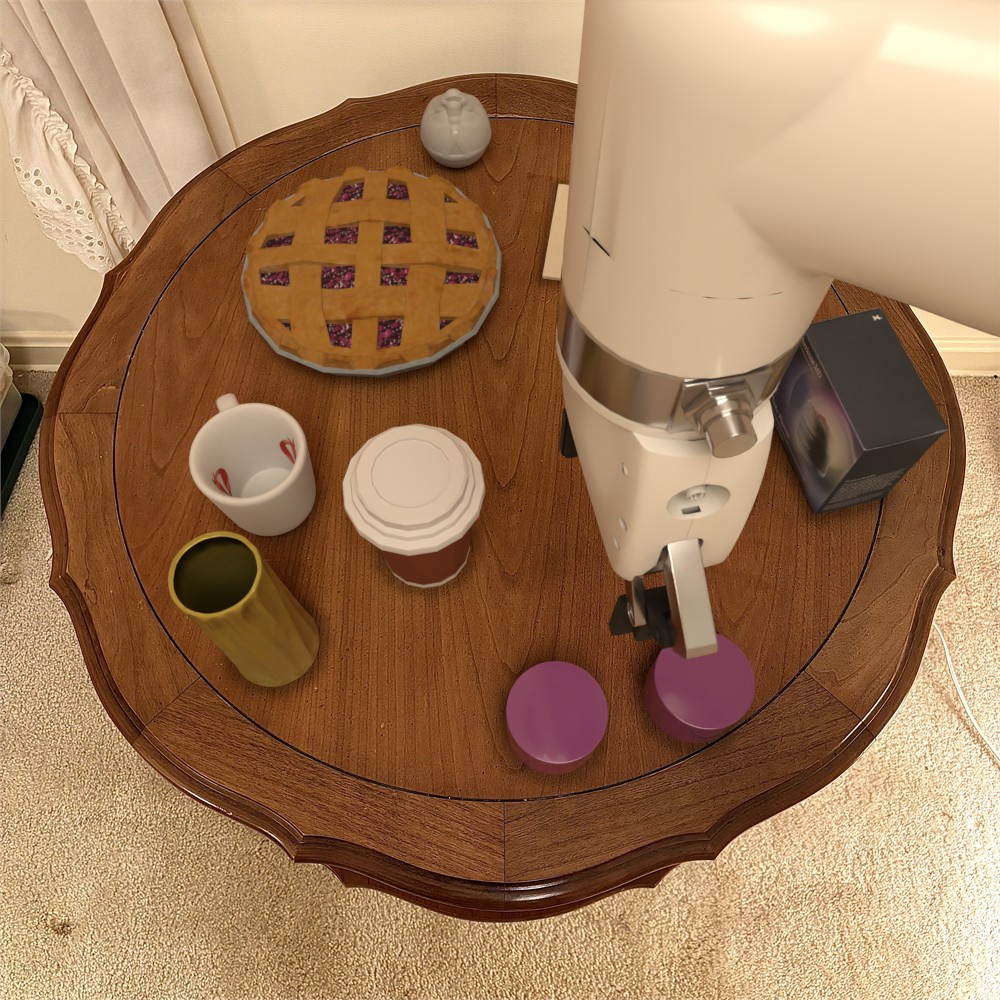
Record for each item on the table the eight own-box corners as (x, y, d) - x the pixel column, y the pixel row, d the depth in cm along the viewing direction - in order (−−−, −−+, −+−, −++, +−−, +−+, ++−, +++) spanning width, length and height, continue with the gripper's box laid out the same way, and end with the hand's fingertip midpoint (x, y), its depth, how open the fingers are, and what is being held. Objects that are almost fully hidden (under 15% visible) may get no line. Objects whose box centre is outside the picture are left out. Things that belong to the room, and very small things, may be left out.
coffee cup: (371, 490, 65) (345, 407, 54) (490, 493, 65) (487, 410, 54) (359, 603, 61) (328, 538, 50) (485, 607, 61) (481, 542, 50)
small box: (757, 402, 68) (797, 321, 59) (831, 385, 69) (883, 302, 59) (810, 518, 64) (862, 450, 54) (889, 498, 64) (955, 428, 55)
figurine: (490, 128, 82) (488, 53, 75) (493, 181, 79) (492, 108, 72) (422, 131, 82) (414, 56, 75) (423, 184, 79) (415, 111, 72)
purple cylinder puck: (738, 657, 59) (757, 637, 55) (734, 750, 56) (754, 737, 52) (647, 643, 60) (658, 622, 55) (639, 735, 57) (650, 720, 52)
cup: (197, 453, 66) (159, 398, 59) (292, 413, 68) (266, 355, 61) (244, 567, 62) (209, 523, 55) (343, 522, 64) (323, 472, 57)
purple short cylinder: (605, 686, 58) (613, 668, 54) (595, 782, 55) (602, 771, 51) (513, 672, 59) (514, 653, 54) (498, 766, 56) (498, 754, 52)
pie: (487, 186, 79) (486, 142, 74) (517, 382, 69) (518, 345, 65) (251, 208, 78) (235, 165, 73) (249, 410, 68) (230, 374, 64)
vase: (338, 645, 60) (291, 573, 47) (268, 706, 58) (201, 649, 45) (284, 587, 62) (226, 502, 49) (216, 644, 60) (136, 572, 47)
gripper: (902, 538, 23) (743, 686, 39) (706, 107, 30) (639, 376, 46) (638, 592, 22) (584, 720, 38) (503, 139, 30) (504, 400, 45)
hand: (614, 531), depth 42 cm, fingers open, 9 cm apart
